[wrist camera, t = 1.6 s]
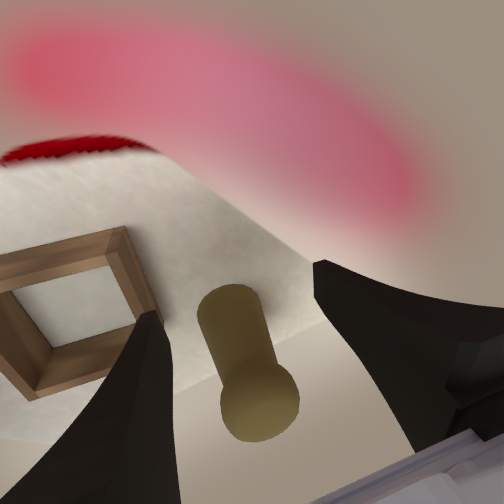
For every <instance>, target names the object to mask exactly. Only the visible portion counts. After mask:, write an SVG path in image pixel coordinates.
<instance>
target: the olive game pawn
mask: <svg viewBox="0 0 504 504" xmlns="http://www.w3.org/2000/svg"><path fill="white" fill-rule="evenodd" d="M197 318H198V323H199V325H200V328H201V330H202V333H203V336H204V338H205V341H206V343H207V346H208V348H209V351H210V353H211V356H212V358H213V361H214V363H215V366H216V368H217V371H218V373H219V376H220V378H221V381H222V384H223V386H224V387H223V390H222V393H221V400H220V405H221V413H222V418H223V421H224V423H225V425H226V428H227V429H228V430H229V431H230V433H231V434H232V435H233V436H234V437H236V438H237V439H239V440H241V441H246V442H260V441H265V440H268V439H271V438H273V437H275V436H277V435H279V434H280V433H282V432H283V431H284V430H286V429H287V428H288V427H289V426H290V425H291V423H292V422H293V421H294V420H295V418H296V416H297V414H298V411H299V410H298V409H299V401H300V396H299V392H298V388H297V386H296V384H295V382H294V380H293V378H292V376H291V375H290V373H289V372H288V371H287V370H286V369H285V368H283V367H282V366H281V365H279V364H278V363H277V359H276V355H275V352H274V348H273V345H272V341H271V338H270V335H269V331H268V328H267V324H266V321H265V317H264V314H263V311H262V307H261V304H260V301H259V298H258V296H257V294H256V293H255V292H254V291H253V290H252V289H251V288H249V287H246V286H244V285H237V284H231V285H225V286H222V287H219V288H217V289H215V290H213V291H212V292H210V293H209V294H208V295H207V296H205V297H204V299H203V300H202V302H201V303H200V305H199V308H198V311H197Z"/></svg>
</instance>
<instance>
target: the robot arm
mask: <svg viewBox="0 0 504 504" xmlns="http://www.w3.org/2000/svg"><path fill="white" fill-rule="evenodd" d="M313 281H314V298H315V300H316V301H317V303H318V305H319V307H320V308H321V310H322V311H323V313H324V315H325V316H326V317H327V318H328V320H329V321H330V322H331V323H332V325H333V326H334V327H335V329H336V330H337V331H338V332H339V333H340V335H341V336H342V337H343V338H344V339H345V341H346V342H347V343H348V345H349V346H350V347H351V348H352V350H353V351H354V352H355V353H356V355H357V356H358V358H359V359H360V360H361V362H362V363H363V365H364V366H365V368H366V370H367V371H368V372H369V374H370V375H371V377H372V379H373V380H374V382H375V384H376V385H377V387H378V389H379V390H380V392H381V393H382V395H383V397H384V398H385V400H386V402H387V403H388V405H389V407H390V408H391V410H392V412H393V413H394V415H395V417H396V419H397V421H398V422H399V424H400V426H401V428H402V430H403V431H404V433H405V435H406V437H407V439H408V440H409V442H410V444H411V446H412V448H413V450H414V451H415V454H413V455H411V456H409V457H407V458H405V459H402V460H400V461H398V462H396V463H394V464H392V465H389V466H387V467H385V468H383V469H381V470H379V471H376V472H374V473H372V474H370V475H368V476H366V477H364V478H361V479H359V480H357V481H355V482H353V483H351V484H349V485H346V486H344V487H342V488H340V489H338V490H336V491H334V492H331V493H329V494H327V495H325V496H323V497H320V498H318V499H316V500H314V501H312V502H310V503H307V504H504V308H499V307H489V306H479V305H472V304H466V303H459V302H453V301H447V300H442V299H438V298H433V297H428V296H423V295H420V294H416V293H412V292H408V291H405V290H402V289H398V288H395V287H392V286H389V285H386V284H384V283H381V282H378V281H375V280H373V279H370V278H368V277H365V276H363V275H360V274H358V273H356V272H353V271H351V270H349V269H346V268H344V267H342V266H340V265H337V264H335V263H332V262H330V261H327V260H321V261H318V262H314V263H313ZM0 504H181V498H180V490H179V482H178V473H177V464H176V454H175V444H174V433H173V362H172V354H171V346H170V342H169V339H168V337H167V335H166V332H165V330H164V327H163V325H162V323H161V320H160V318H159V316H158V313H157V311H156V309H155V310H152V311H148V312H145V313H141V314H140V316H139V318H138V320H137V322H136V324H135V326H134V328H133V330H132V332H131V334H130V336H129V338H128V340H127V342H126V344H125V346H124V348H123V349H122V351H121V353H120V355H119V357H118V359H117V360H116V362H115V364H114V365H113V367H112V368H111V370H110V372H109V373H108V375H107V377H106V378H105V380H104V381H103V383H102V384H101V386H100V387H99V389H98V390H97V392H96V393H95V395H94V396H93V397H92V399H91V400H90V402H89V403H88V404H87V405H86V407H85V408H84V409H83V410H82V412H81V413H80V414H79V415H78V417H77V418H76V419H75V420H74V422H73V423H72V424H71V425H70V426H69V428H68V429H67V430H66V431H65V433H64V434H63V435H62V436H61V437H60V438H59V439H58V440H57V442H56V443H55V444H54V445H53V446H52V447H51V448H50V449H49V451H48V452H47V453H46V454H45V455H44V456H43V457H42V458H41V459H40V460H39V461H38V462H37V463H36V464H35V465H34V467H32V468H31V470H30V471H29V472H28V473H27V474H26V475H25V476H24V477H23V478H22V479H21V480H19V482H17V483H16V485H15V486H14V487H12V488H11V489H10V490H9V491H8V492H7V493H6V494H5V495H4V496H3V497H2V498H1V499H0Z"/></svg>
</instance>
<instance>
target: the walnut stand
mask: <svg viewBox="0 0 504 504" xmlns="http://www.w3.org/2000/svg"><path fill="white" fill-rule="evenodd" d="M106 265H110V267H111V269H112V271H113V274H114V276H115V278H116V280H117V282H118V284H119V286H120V288H121V290H122V292H123V294H124V296H125V298H126V300H127V303H128V305H129V307H130V309H131V311H132V313H133V315H134V317H135V319H136V321H137V320H138V318H139V316H140V314H141V313H145V312H148V311H152V310H155V309H156V311H157V313H158V316H159V318H160V320H161V323H162V325H163V327H164V321H163V319H162V316H161V314H160V312H159V309H158V307H157V304H156V302H155V299H154V297H153V295H152V292H151V290H150V287H149V285H148V283H147V280H146V278H145V275H144V273H143V271H142V268H141V266H140V263H139V261H138V259H137V256H136V254H135V251H134V249H133V246H132V244H131V242H130V239H129V237H128V234H127V232H126V230H125V227H124V226H121V227H117V228H113V229H109V230H105V231H100V232H96V233H92V234H88V235H83V236H79V237H75V238H71V239H67V240H62V241H58V242H54V243H50V244H46V245H41V246H37V247H33V248H29V249H25V250H20V251H16V252H12V253H8V254H3V255H0V371H1V372H2V373H3V375H4V376H5V377H6V378H7V379H8V380H9V381H10V382H11V383H12V384H13V385H14V386H15V387H16V388H17V389H18V390H19V391H20V392H21V394H22V395H23V396H24V397H25V398H26V399H27V400H28V401H29V402H30V401H33V400H36V399H39V398H42V397H45V396H48V395H51V394H54V393H57V392H60V391H63V390H66V389H69V388H72V387H75V386H79V385H82V384H85V383H88V382H91V381H94V380H97V379H100V378H103V377H106V376H107V375H108V373H109V372H110V370H111V368H112V367H113V365H114V364H115V362H116V360H117V359H118V357H119V355H120V353H121V351H122V349H123V348H124V346H125V344H126V342H127V340H128V338H129V336H130V334H131V332H132V330H133V328H134V326H135V324H133V325H130V326H127V327H123V328H120V329H117V330H113V331H110V332H107V333H103V334H100V335H97V336H94V337H90V338H87V339H84V340H80V341H77V342H74V343H70V344H67V345H64V346H60V347H57V348H54V349H53V348H52V346H51V345H50V344H49V342H48V341H47V340H46V338H45V337H44V336H43V334H42V333H41V331H40V330H39V329H38V327H37V326H36V325H35V323H34V322H33V321H32V319H31V318H30V317H29V315H28V314H27V313H26V311H25V310H24V309H23V307H22V306H21V305H20V303H19V302H18V301H17V299H16V298H15V297H14V295H13V294H12V293H11V291H10V290H14V289H18V288H22V287H25V286H29V285H33V284H37V283H41V282H45V281H49V280H52V279H56V278H60V277H64V276H68V275H72V274H75V273H79V272H83V271H87V270H91V269H95V268H99V267H102V266H106Z"/></svg>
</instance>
